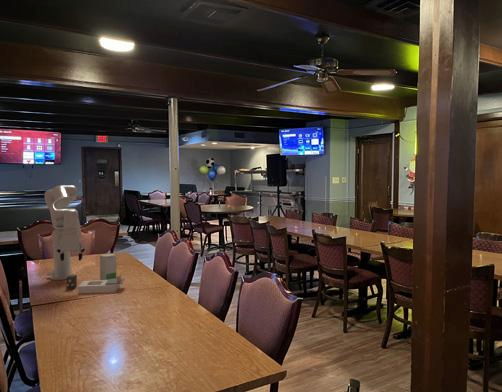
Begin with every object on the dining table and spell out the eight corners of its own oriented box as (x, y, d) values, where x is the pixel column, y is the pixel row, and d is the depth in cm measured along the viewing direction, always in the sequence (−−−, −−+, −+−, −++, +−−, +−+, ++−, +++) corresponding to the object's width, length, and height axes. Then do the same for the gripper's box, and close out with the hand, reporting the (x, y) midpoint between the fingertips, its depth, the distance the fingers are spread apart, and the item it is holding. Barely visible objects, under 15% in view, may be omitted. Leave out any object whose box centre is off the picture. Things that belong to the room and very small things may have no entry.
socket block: (78, 293, 214) (78, 286, 214) (84, 287, 226) (84, 280, 225) (115, 292, 217) (115, 285, 217) (119, 286, 229) (119, 279, 228)
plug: (66, 289, 221) (65, 277, 221) (69, 286, 227) (69, 275, 227) (73, 289, 221) (73, 277, 221) (76, 286, 228) (76, 274, 227)
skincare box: (105, 281, 239) (104, 256, 238) (99, 279, 243) (99, 255, 242) (117, 278, 245) (116, 254, 244) (111, 277, 249) (110, 253, 248)
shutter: (105, 284, 217) (105, 277, 217) (109, 280, 226) (108, 273, 226) (121, 283, 218) (121, 276, 218) (124, 279, 228) (124, 272, 227)
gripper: (52, 232, 218) (53, 262, 219) (84, 231, 221) (85, 261, 222) (57, 230, 226) (57, 259, 227) (88, 230, 228) (88, 258, 229)
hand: (71, 260), depth 224 cm, fingers open, 9 cm apart
